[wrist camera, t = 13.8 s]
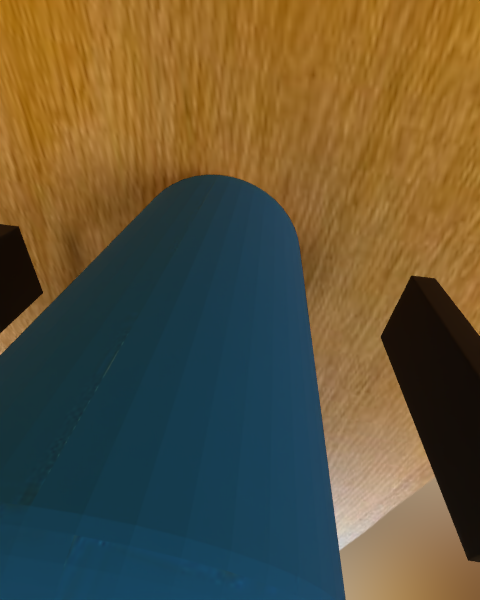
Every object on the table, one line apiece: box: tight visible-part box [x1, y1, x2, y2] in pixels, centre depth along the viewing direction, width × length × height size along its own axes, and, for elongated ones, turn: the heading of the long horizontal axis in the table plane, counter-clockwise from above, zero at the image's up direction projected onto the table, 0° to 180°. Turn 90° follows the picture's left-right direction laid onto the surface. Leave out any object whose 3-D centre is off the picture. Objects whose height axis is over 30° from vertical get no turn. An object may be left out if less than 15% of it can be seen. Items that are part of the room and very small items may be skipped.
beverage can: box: [0, 175, 345, 600], centre depth 8 cm, size 6×6×12 cm
